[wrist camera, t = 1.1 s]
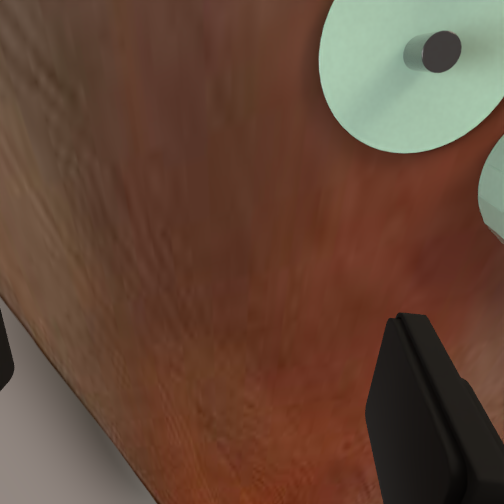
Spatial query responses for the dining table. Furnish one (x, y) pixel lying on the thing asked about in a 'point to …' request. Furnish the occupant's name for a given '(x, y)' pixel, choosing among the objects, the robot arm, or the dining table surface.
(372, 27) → the lid
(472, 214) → the dining table surface
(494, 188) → the pot
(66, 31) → the dining table surface
